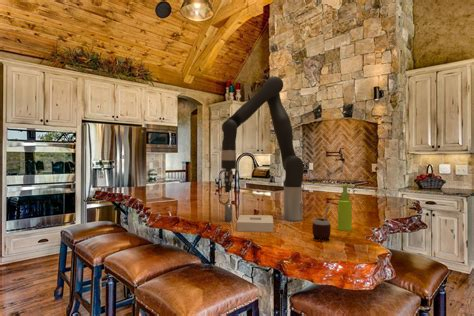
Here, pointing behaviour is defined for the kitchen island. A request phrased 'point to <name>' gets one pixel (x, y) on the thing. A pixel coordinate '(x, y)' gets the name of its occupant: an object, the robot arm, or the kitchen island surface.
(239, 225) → the socket block
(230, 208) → the peg
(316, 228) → the mate gourd
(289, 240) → the kitchen island surface
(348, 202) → the soap dispenser
